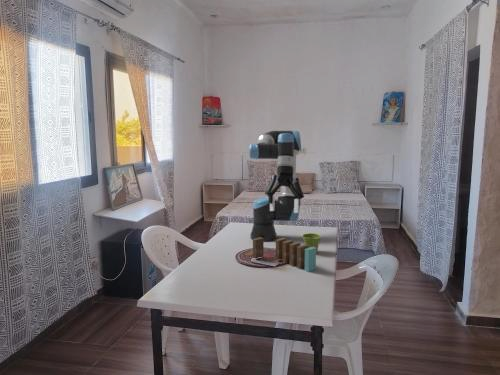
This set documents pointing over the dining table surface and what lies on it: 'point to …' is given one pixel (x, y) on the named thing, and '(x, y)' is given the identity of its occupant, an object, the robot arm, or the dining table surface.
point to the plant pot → (311, 240)
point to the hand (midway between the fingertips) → (284, 212)
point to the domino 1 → (258, 247)
